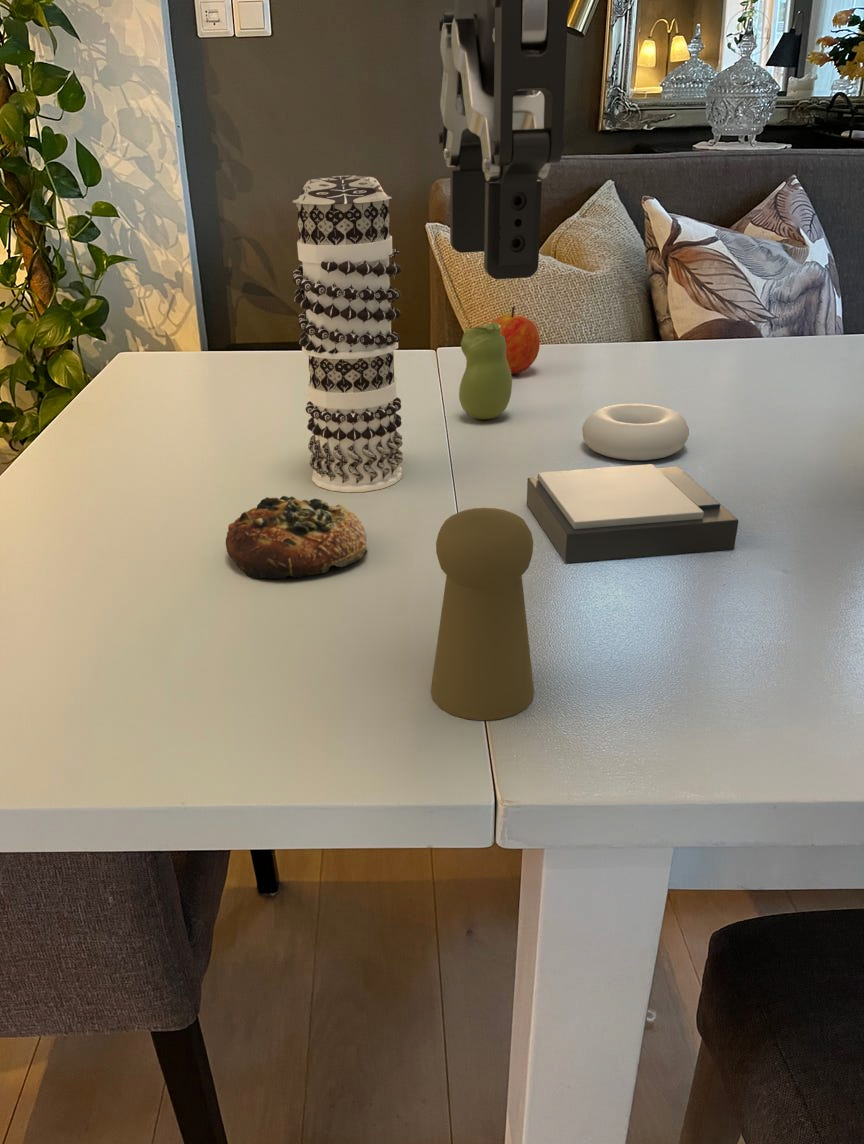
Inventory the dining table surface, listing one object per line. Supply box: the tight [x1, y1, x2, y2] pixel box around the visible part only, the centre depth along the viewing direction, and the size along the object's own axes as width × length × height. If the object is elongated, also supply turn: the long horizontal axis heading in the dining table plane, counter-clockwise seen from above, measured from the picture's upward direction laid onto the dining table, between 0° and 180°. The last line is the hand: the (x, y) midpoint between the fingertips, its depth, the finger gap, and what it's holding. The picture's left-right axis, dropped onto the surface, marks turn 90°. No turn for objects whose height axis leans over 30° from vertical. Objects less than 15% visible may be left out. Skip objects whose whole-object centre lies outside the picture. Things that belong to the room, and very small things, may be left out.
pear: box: [458, 322, 513, 421], centre depth 100 cm, size 6×5×10 cm
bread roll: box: [225, 495, 369, 580], centre depth 73 cm, size 11×11×5 cm
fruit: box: [490, 306, 541, 375], centre depth 117 cm, size 7×7×8 cm
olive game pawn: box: [430, 507, 535, 721], centre depth 53 cm, size 6×6×11 cm
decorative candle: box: [291, 175, 404, 493], centre depth 82 cm, size 9×9×25 cm
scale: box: [526, 463, 740, 564], centre depth 75 cm, size 13×12×3 cm
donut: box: [581, 403, 690, 461], centre depth 91 cm, size 10×4×10 cm
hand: (490, 263), depth 45 cm, fingers open, 8 cm apart
